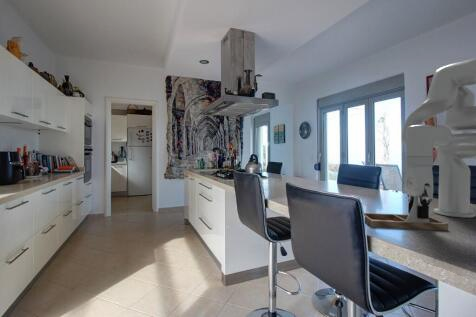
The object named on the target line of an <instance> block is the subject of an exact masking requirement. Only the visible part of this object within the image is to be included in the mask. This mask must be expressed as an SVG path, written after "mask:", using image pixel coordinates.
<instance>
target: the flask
mask: <svg viewBox="0 0 476 317" xmlns="http://www.w3.org/2000/svg"><path fill="white" fill-rule="evenodd" d="M421 196H424V195H421ZM413 197H414V196H413ZM422 200H423V199H422ZM417 206H419V204H418V197H414V201H413V206H412V208H411V210H410V213H408V214H407V215H408V217H407V219H406V220H407V221H409V222H426V223H430V222H429V219H421V218H417Z"/></svg>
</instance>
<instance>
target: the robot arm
mask: <svg viewBox="0 0 476 317" xmlns="http://www.w3.org/2000/svg"><path fill="white" fill-rule="evenodd" d="M471 85H476V57H475V58H471V59H467V60H463V61H459V62H455V63H454V62H453V63H450V64H448V65H445V66H441V67H440V68H438V69H437V70H435V72H434V73H433V76H432V80H431V82H430V86H429V89H428V92H427V96H426V98H425V101H424V102H422V103H421V104H420V105H419V106H418V107H416V108H415V109H414V110H413V111H412V112H411V113H410V114H409V115H408V117H407V118H406V120H405V122H404V126H403V129H402V133H401V142H402V144H403V145H404V147H405V168H404V169H405V170H404V177H403V188H402V189H403V193H404V194H405V195H407V196H406V197H407V202H408V204H407V205H408V209H407V210H408V214H409V213H410V210H411V208H412V206H413V201H414V197H418V204H419V206H417V218H421V219H428V218H429V216H430V215H429V213H430V211H429V209H430V207H431V202H432V201H433V199H434V175H433V174H434V173H433V167H434V148H436V152H437V156H438V166H439V167H438V171H439V172H438V208H437V207H436V208H433V212H434V213H435V214H437V215H441V216H445V217H451V218H453V217H454V218H463V219H464V218H465V219H466V218H467V219H471V218H475V217H476V214H475V212H476V205H474V204H473V203H471V169H470V167H469V166H468V164H467V163H466V161H464V159H468V160H469V159H471V160H473V159H476V105H475V102H476V96H475V93H474V92H473V91H472V90H471V89H470V88H468V86H471ZM466 86H467V87H466ZM444 112H445V114H444V115H445V116H444V117H445V118H444V125H440V124H438V125H437V124H436V125H430V124H423V123H424V122H426V121H427V120H429V119H431V118H433V117H436V116H437V115H440V114H442V113H444ZM452 132H453V133H452ZM455 132H456V133H455ZM458 132H459V133H458ZM461 132H464V133H461ZM465 132H472V133H465ZM473 132H474V133H473ZM421 195H424V196H421ZM413 196H414V197H413ZM422 199H423V200H422Z"/></svg>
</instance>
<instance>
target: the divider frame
mask: <svg viewBox="0 0 476 317" xmlns="http://www.w3.org/2000/svg"><path fill="white" fill-rule="evenodd" d="M363 213H364V216H365V222H364V223H365V224H367V225H368V226H369V227H371V228H382V229H385V228H387V229H388V228H389V229H407V230H408V229H409V230H411V229H412V230H430V231H431V230H432V231H448V230H449V223H446V222H444V221H442V220H439V219H437V218H435V217H432V216H430V215H429V218H428V219H429V222H430V223H426V222H409V221H407V220H406V219H407V217H408V215H409V214H405V213H404V214H400V213H373V212H372V213H370V212H363Z"/></svg>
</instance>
